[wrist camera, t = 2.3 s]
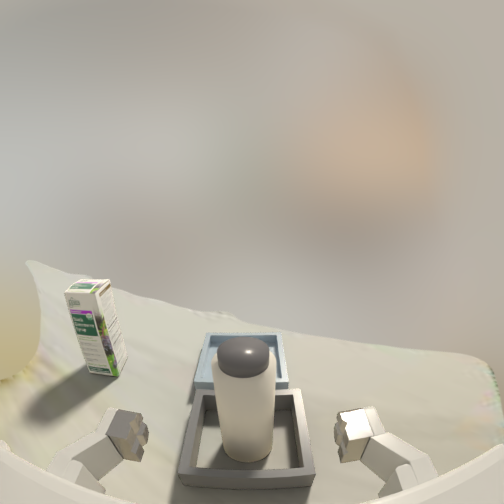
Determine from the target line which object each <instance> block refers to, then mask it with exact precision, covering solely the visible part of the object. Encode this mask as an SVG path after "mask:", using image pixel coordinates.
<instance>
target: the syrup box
mask: <svg viewBox="0 0 504 504" xmlns="http://www.w3.org/2000/svg"><path fill="white" fill-rule="evenodd" d="M64 294H65V298H66V302H67V306H68V310H69V313H70V317H71V320H72V323H73V326H74V329H75V332H76V335H77V339H78V342H79V344H80V347H81V350H82V353H83V356H84V359H85V361H86V364H87V367H88V370H89V372H90V373H96V374H103V375H111V376H119V375H120V373H121V370H122V368H123V366H124V364H125V362H126V360H127V358H128V354H127V351H126V348H125V344H124V340H123V336H122V333H121V329H120V325H119V320H118V316H117V312H116V308H115V303H114V299H113V294H112V288H111V283H110V280H109V279H105V280H84V279H81V280H79V281H77V282H75V283H74V284H72V285H71V286H70V287H69V288H68V289H67V290H66V291H65V293H64Z"/></svg>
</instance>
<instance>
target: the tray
mask: <svg viewBox="0 0 504 504" xmlns="http://www.w3.org/2000/svg"><path fill="white" fill-rule="evenodd" d="M235 337H253V338H257V339H259V340H262V341H263V342H265V343H266V344H267V345H268V347H269V351H271V352H272V353H273V354H274V356H275V358H276V384H275V390H283V389H288V383H289V381H288V374H287V368H286V361H285V355H284V348H283V342H282V335H281V332H271V333H206V337H205V340H204V344H203V348H202V352H201V355H200V359H199V363H198V367H197V371H196V375H195V378H194V385H195V390H196V389H205V390H214V383H213V375H212V368H211V361H212V358H213V356H214V355H215V354H216V353H217V349H218V347H219V346H220V345H221V344H222V343H223V342H224V341H226V340H228V339H231V338H235Z"/></svg>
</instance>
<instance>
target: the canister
mask: <svg viewBox="0 0 504 504" xmlns="http://www.w3.org/2000/svg"><path fill="white" fill-rule="evenodd" d="M211 368H212V375H213V383H214V390H215V397H216V404H217V410H218V417H219V423H220V429H221V435H222V441H223V447H224V450H225V452H226V453H227V455H228V456H229V457H231V458H232V459H234V460H236V461H239V462H246V463H249V462H256V461H259V460H261V459H263V458H265V457H266V456H267V455H268V454H269V453H270V451H271V449H272V443H273V425H274V406H275V384H276V358H275V356H274V354H273V353H272V352H271V351H269V347H268V345H267V344H266V343H265V342H263V341H262V340H259V339H257V338H253V337H235V338H231V339H228V340H226V341H224V342H223V343H222V344H221V345H220V346H219V347H218V349H217V353H216V354H215V355H214V356H213V358H212V361H211Z"/></svg>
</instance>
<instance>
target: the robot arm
mask: <svg viewBox="0 0 504 504" xmlns="http://www.w3.org/2000/svg"><path fill="white" fill-rule="evenodd" d="M142 420H143V417H142V415H141V413H135V412H130V411H125V410H120V409H115V408H110V407H109V408H108V409H107V410H106V412H105V413H104V415H103V417H102V419H101V421H100V423H99V425H98V427H97V429H96V431H95V432H91V433H89V434H87V435H86V436H84V437H82V438H80V439H79V440H77V441H75V442H73V443H72V444H70V445H68V446H66V447H65V448H63V449H61V450H59V451H57V452H56V453H55V455H54V457H53V459H52V461H51V462H50V464H49V466H48V468H47V470H46V471H45V470H43V469H41V468H39V467H37V466H35V465H33V464H31V463H29V462H28V461H26V460H24V459H22V458H20V457H19V456H17V455H15V454H13V453H12V452H11V449H10V447H9V446H8V445H7V444H6V443H5V442H4V441H2V440H0V504H138V503H134V502H130V501H126V500H122V499H119V498H115V497H112V496H109V495H105V491H106V490H105V488H104V487H103V486H102V485H101V484H100V483H99V482H98V481H99V480H100V479H101V478H102V477H104V476H105V475H106V474H107V473H108V472H110V471H111V470H112V469H113V468H114V467H116V466H117V465H118V464H119V463H120V462H121V461H123V459H126V460H132V461H137V462H141V459H142V456H143V453H144V450H143V447H142V446H144V445H145V444H147V441H148V435H149V432H148V428H147V425H146V424H145V423H143V422H142ZM337 421H338V422H337V423H336V424H335V426H334V439H335V443H336V444H337V445H338V446H339V449H338V455H339V458H340V462H341V463H346V462H352V461H357V460H360V461H361V462H362V463H363V464H364V465H365V466H367V467H368V468H369V469H370V470H371V471H373V472H374V473H375V474H376V475H377V476H378V477H380V478H381V479H382V480H383V481H385V482H386V484H385V485H384V486H383V488H382V489H381V490H380V492H379V493H378V496H379V498H378V499H374V500H371V501H367V502H363V503H359V504H504V444H499V445H497V446H495V447H493V448H492V449H490V450H489V451H487V452H485V453H484V454H482V455H480V456H478V457H477V458H475V459H473V460H471V461H469V462H467V463H466V464H464V465H462V466H460V467H458V468H456V469H454V470H452V471H450V472H448V473H445V474H443V475H441V476H438V474H437V471H436V469H435V467H434V465H433V463H432V461H431V459H430V457H429V455H427V454H426V453H424V452H422V451H420V450H419V449H417V448H415V447H413V446H412V445H410V444H408V443H406V442H405V441H403V440H401V439H400V438H398V437H396V436H395V435H393V434H391V433H390V432H388V433H386V431H385V429H384V427H383V425H382V422H381V420H380V418H379V416H378V413H377V411H376V409H375V407H374V406H370V407H365V408H358V409H353V410H348V411H342V412H339V413H338V414H337Z"/></svg>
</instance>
